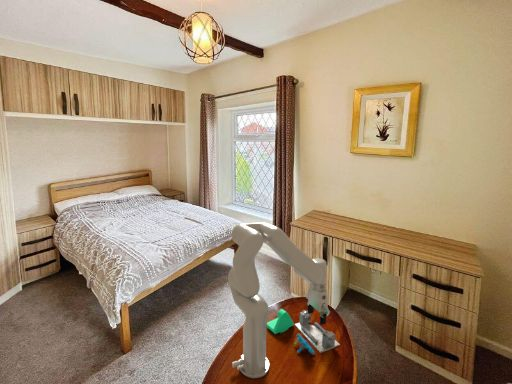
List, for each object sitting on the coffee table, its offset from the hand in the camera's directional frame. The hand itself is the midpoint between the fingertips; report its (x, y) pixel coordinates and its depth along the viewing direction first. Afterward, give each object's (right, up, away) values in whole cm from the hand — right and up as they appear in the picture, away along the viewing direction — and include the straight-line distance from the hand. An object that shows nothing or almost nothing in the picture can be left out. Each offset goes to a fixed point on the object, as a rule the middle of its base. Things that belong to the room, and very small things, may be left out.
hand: (316, 318), depth 127 cm
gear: (-5, -11, -9) cm, 15 cm away
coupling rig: (0, -9, +1) cm, 9 cm away
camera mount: (-17, -8, +7) cm, 20 cm away
